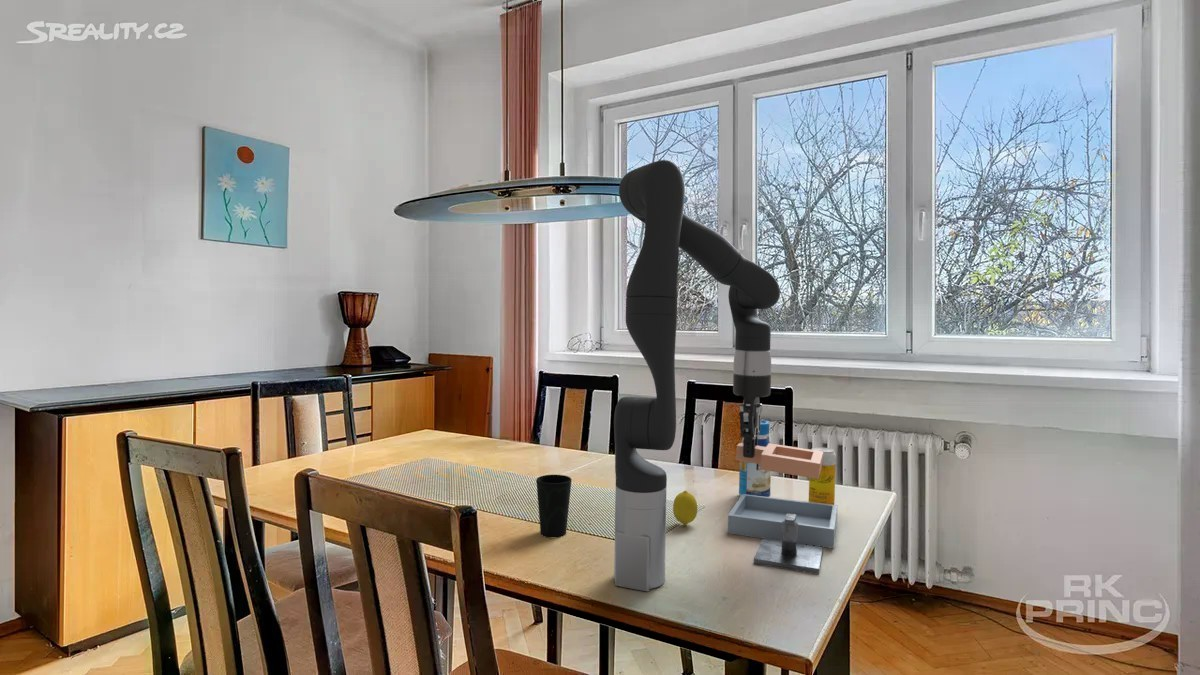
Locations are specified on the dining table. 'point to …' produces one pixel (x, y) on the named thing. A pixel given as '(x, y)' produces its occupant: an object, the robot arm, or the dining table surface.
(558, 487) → the cup
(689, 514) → the lemon
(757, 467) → the beverage bottle
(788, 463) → the tabbed ring
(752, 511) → the tray
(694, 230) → the robot arm
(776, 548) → the stand
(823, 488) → the beer can
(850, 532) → the dining table surface
